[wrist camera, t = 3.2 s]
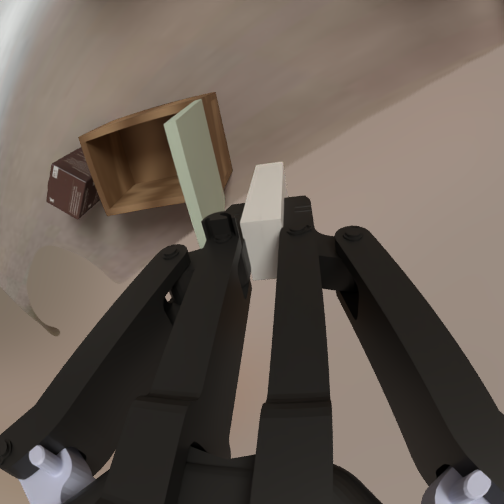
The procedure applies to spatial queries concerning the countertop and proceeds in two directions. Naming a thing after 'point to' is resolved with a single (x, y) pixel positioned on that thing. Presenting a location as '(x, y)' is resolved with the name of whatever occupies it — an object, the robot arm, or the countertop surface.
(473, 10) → the countertop surface
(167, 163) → the crate
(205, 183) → the lid
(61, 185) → the box
